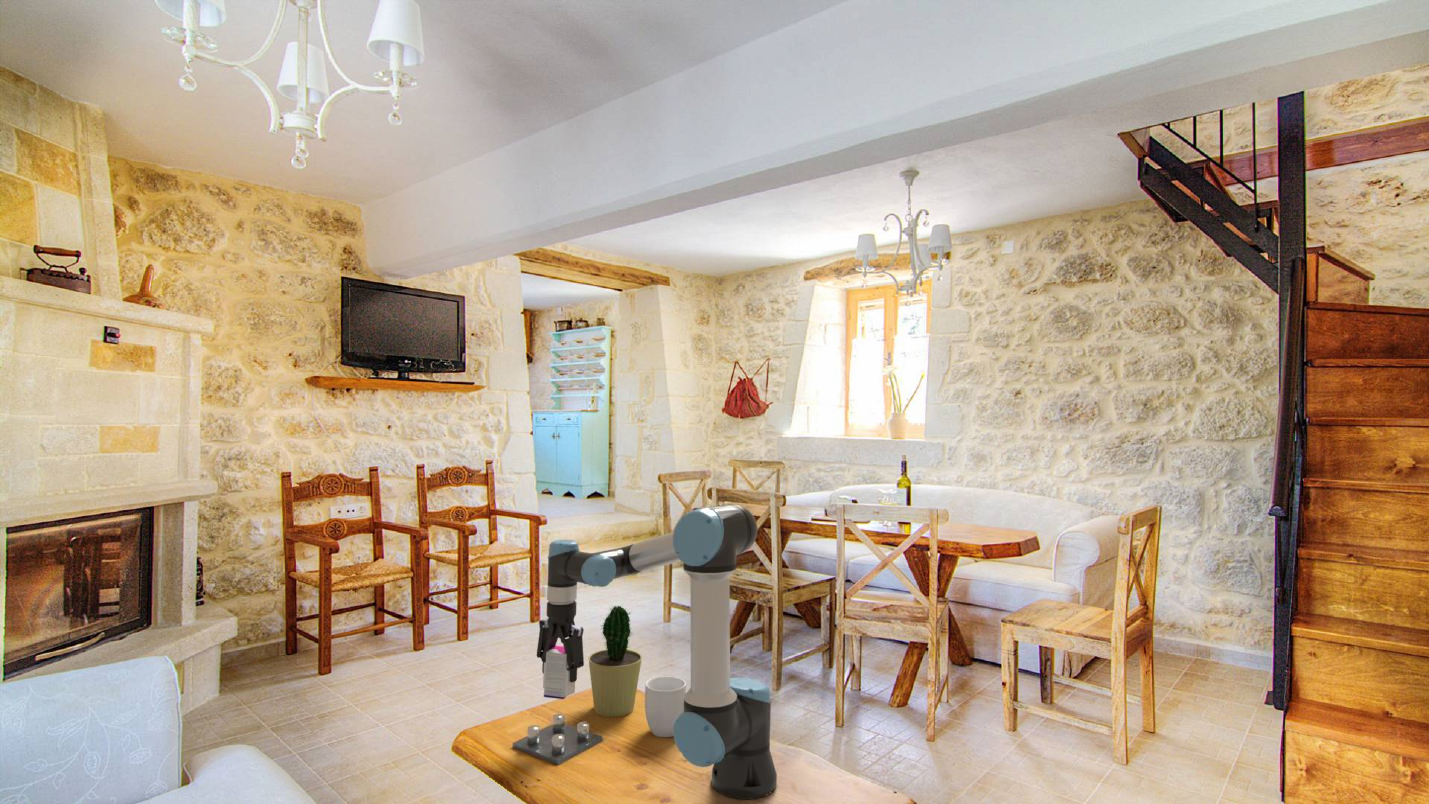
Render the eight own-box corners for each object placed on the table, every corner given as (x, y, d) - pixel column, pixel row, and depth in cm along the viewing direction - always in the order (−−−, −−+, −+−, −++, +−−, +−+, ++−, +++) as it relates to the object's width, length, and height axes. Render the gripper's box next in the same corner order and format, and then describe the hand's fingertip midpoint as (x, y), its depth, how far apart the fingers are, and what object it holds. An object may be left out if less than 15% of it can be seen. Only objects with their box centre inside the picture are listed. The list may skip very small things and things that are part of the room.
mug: (695, 721, 196) (696, 674, 196) (703, 738, 185) (704, 688, 185) (641, 725, 192) (642, 677, 193) (646, 743, 182) (647, 692, 182)
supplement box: (564, 699, 178) (566, 654, 178) (543, 697, 179) (544, 652, 179) (573, 691, 183) (575, 647, 184) (552, 688, 184) (554, 645, 185)
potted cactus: (595, 696, 212) (597, 596, 212) (645, 699, 210) (647, 598, 211) (580, 718, 196) (582, 610, 197) (634, 721, 195) (636, 612, 195)
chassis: (602, 740, 183) (603, 723, 183) (557, 765, 169) (558, 746, 170) (558, 725, 192) (558, 708, 192) (512, 747, 178) (512, 729, 178)
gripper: (600, 604, 179) (597, 695, 179) (545, 591, 190) (542, 677, 190) (580, 610, 173) (577, 704, 172) (523, 597, 184) (520, 685, 183)
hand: (558, 690), depth 181 cm, fingers closed on supplement box, 7 cm apart
